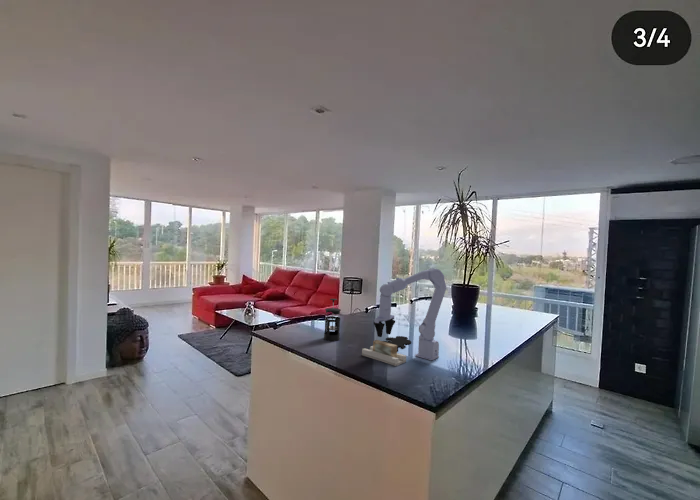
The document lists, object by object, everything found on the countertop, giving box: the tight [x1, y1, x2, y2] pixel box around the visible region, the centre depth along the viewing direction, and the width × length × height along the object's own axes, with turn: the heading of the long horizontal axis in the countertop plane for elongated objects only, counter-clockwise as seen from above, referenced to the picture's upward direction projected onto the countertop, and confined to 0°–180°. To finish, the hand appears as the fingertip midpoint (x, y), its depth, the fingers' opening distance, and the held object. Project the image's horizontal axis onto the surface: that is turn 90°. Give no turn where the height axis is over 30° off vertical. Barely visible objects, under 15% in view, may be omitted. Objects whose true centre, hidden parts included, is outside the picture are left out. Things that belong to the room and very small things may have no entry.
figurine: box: [382, 335, 412, 353], centre depth 183 cm, size 16×1×30 cm
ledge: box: [361, 345, 407, 367], centre depth 156 cm, size 20×8×3 cm, turn 48°
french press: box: [323, 298, 341, 342], centre depth 187 cm, size 12×9×23 cm
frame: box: [372, 339, 398, 358], centre depth 156 cm, size 12×3×6 cm, turn 48°
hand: (384, 335), depth 163 cm, fingers open, 7 cm apart
